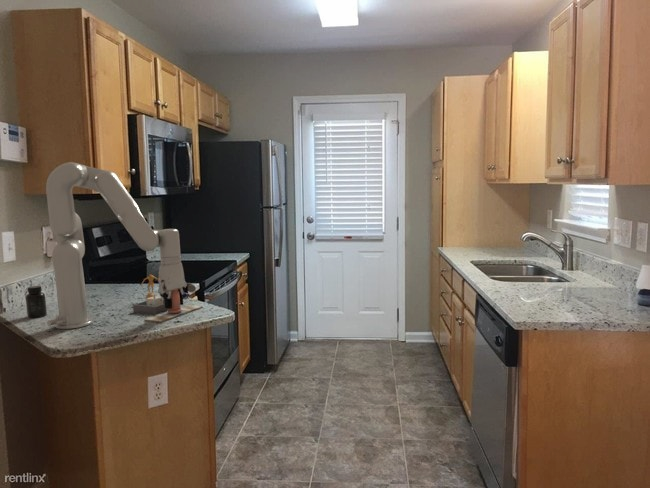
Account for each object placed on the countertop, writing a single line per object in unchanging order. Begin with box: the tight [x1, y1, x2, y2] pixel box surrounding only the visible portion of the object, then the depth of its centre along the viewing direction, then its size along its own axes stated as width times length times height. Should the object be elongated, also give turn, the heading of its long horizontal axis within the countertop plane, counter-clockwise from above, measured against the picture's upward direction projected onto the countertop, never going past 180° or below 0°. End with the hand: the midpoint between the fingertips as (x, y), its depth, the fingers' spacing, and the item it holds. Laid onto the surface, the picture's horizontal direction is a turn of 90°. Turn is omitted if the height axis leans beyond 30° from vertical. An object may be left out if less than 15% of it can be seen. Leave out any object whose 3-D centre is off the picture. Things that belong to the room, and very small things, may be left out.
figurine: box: [140, 274, 159, 299], centre depth 229 cm, size 8×6×12 cm
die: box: [145, 295, 164, 306], centre depth 213 cm, size 5×5×5 cm
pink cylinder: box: [167, 289, 182, 313], centre depth 205 cm, size 5×5×11 cm
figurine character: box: [159, 281, 197, 297], centre depth 237 cm, size 7×8×15 cm
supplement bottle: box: [25, 285, 48, 319], centre depth 210 cm, size 7×7×12 cm
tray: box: [132, 298, 168, 315], centre depth 214 cm, size 12×12×3 cm
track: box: [143, 304, 204, 324], centre depth 205 cm, size 24×8×1 cm, turn 154°
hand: (174, 305), depth 205 cm, fingers open, 5 cm apart
